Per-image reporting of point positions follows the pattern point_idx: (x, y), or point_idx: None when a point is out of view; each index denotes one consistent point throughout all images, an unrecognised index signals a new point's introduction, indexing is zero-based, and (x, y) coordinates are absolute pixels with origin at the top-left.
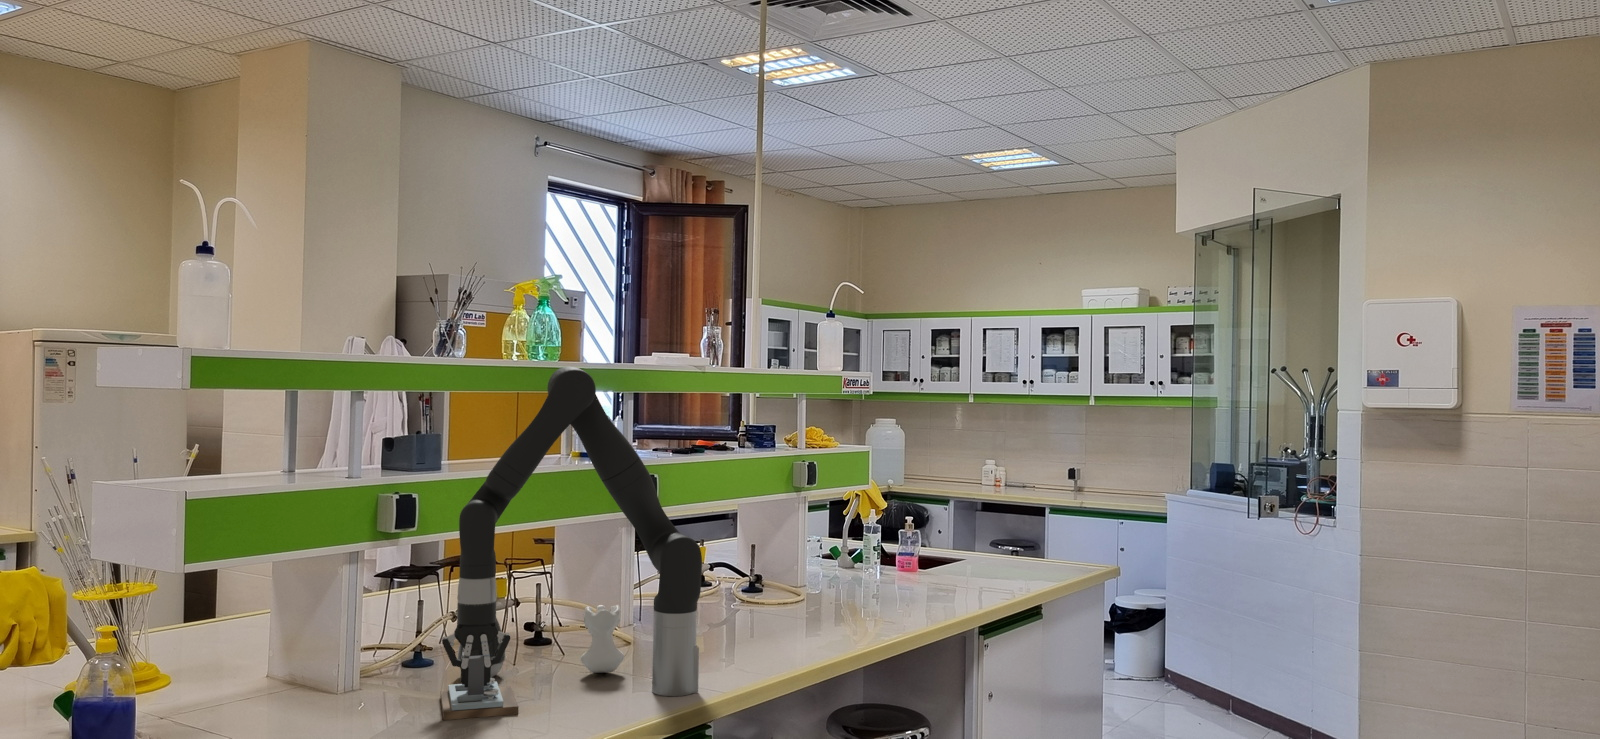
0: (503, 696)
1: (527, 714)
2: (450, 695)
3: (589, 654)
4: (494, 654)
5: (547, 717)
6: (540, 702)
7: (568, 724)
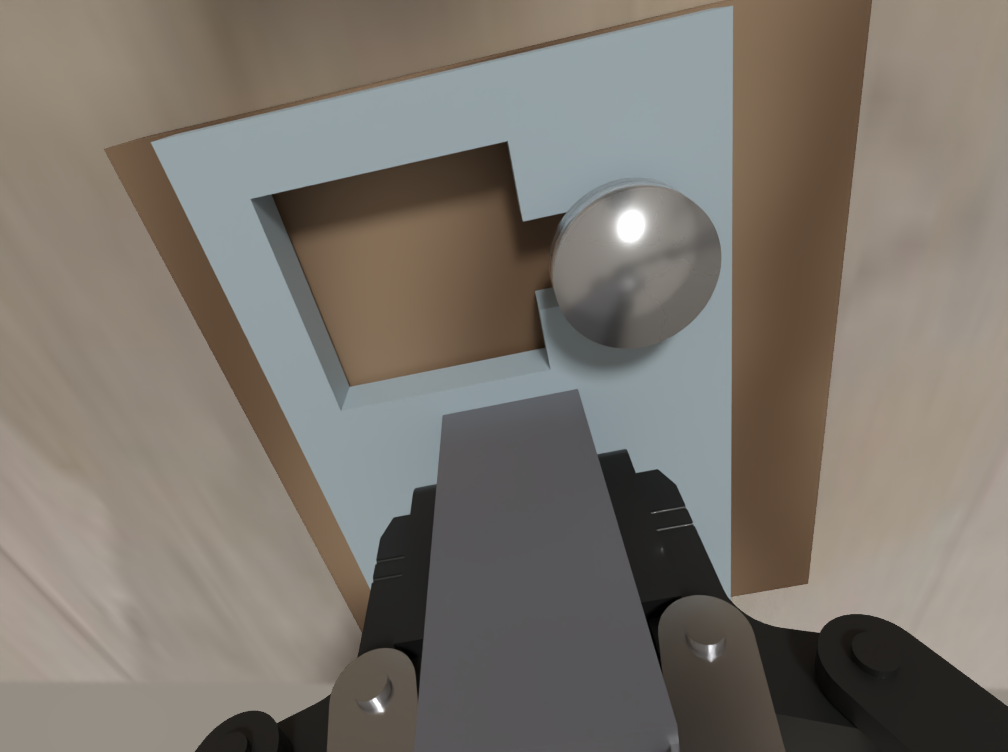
0: (741, 378)
1: (833, 549)
2: (334, 513)
3: None
4: (882, 722)
5: (921, 592)
6: (993, 321)
7: (976, 670)
